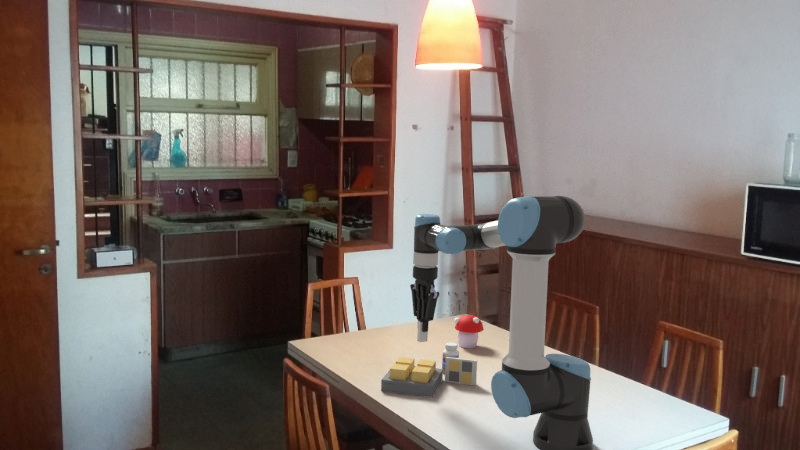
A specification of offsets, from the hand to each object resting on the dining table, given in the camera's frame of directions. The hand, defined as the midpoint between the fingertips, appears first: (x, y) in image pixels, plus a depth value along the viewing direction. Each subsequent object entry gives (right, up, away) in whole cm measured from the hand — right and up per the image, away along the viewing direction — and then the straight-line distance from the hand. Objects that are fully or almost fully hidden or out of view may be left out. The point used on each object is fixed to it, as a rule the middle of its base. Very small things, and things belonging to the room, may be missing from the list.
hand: (422, 341), depth 220 cm
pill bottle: (+10, -14, +19) cm, 26 cm away
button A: (0, -13, +1) cm, 13 cm away
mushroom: (+19, -10, +50) cm, 54 cm away
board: (-3, -15, +6) cm, 16 cm away
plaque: (+12, -15, +9) cm, 22 cm away
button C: (+1, -12, +8) cm, 15 cm away
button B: (-7, -12, +3) cm, 15 cm away
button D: (-5, -12, +10) cm, 16 cm away
